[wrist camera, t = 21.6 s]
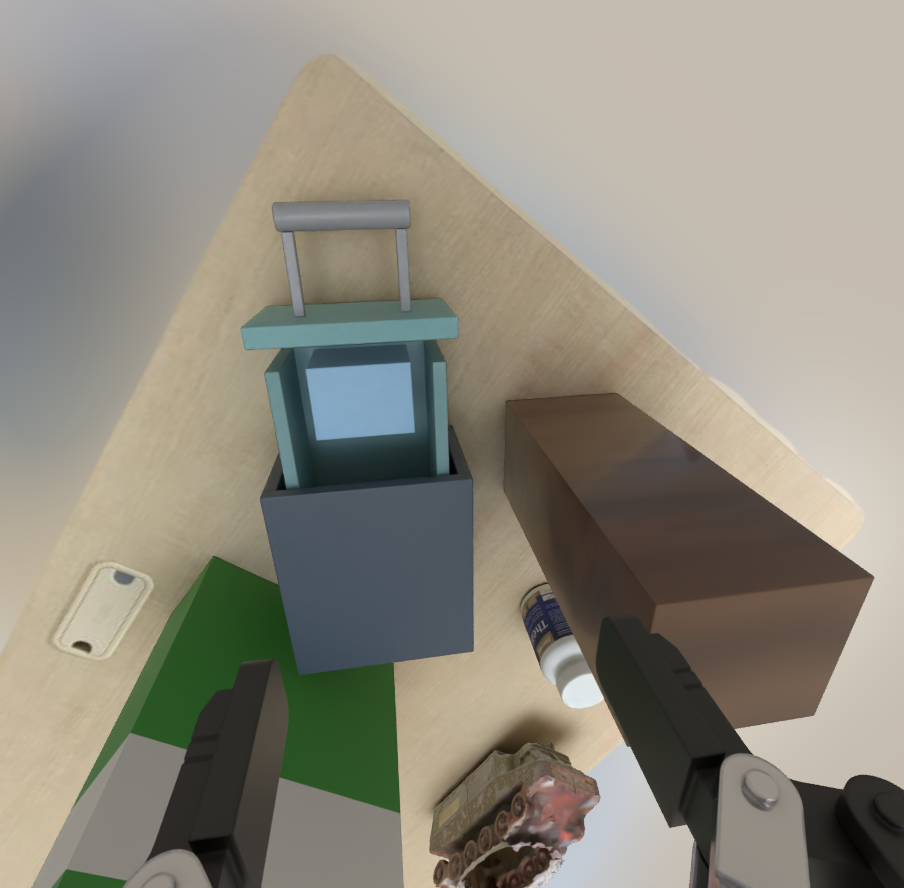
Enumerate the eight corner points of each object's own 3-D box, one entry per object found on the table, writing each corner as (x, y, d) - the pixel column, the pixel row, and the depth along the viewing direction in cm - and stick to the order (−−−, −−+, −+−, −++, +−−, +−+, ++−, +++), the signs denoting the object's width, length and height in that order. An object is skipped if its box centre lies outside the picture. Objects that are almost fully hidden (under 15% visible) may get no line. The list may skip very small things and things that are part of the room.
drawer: (247, 205, 29) (213, 201, 23) (439, 201, 30) (456, 197, 24) (298, 489, 37) (284, 542, 31) (447, 475, 38) (461, 524, 32)
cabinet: (283, 438, 36) (259, 498, 28) (452, 425, 37) (473, 478, 30) (312, 591, 42) (298, 675, 34) (455, 575, 44) (473, 651, 36)
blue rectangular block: (323, 414, 34) (316, 441, 29) (313, 349, 32) (304, 368, 28) (410, 407, 34) (415, 432, 30) (406, 344, 32) (410, 362, 28)
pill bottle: (521, 583, 45) (557, 671, 36) (576, 579, 46) (624, 663, 37) (517, 627, 47) (549, 719, 39) (569, 622, 48) (613, 711, 39)
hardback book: (392, 637, 46) (409, 1012, 24) (347, 686, 47) (326, 1076, 26) (213, 556, 39) (19, 968, 18) (169, 616, 41) (-55, 1056, 19)
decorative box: (390, 795, 56) (393, 902, 47) (512, 690, 51) (540, 787, 43) (472, 826, 61) (489, 928, 52) (589, 733, 56) (629, 827, 48)
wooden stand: (506, 400, 37) (656, 605, 18) (617, 392, 38) (875, 576, 19) (503, 490, 41) (627, 747, 21) (605, 481, 42) (814, 716, 22)
